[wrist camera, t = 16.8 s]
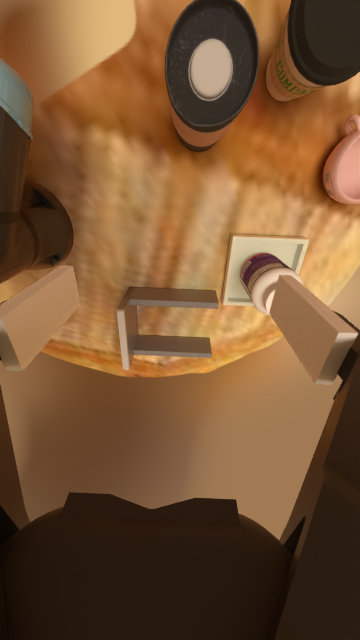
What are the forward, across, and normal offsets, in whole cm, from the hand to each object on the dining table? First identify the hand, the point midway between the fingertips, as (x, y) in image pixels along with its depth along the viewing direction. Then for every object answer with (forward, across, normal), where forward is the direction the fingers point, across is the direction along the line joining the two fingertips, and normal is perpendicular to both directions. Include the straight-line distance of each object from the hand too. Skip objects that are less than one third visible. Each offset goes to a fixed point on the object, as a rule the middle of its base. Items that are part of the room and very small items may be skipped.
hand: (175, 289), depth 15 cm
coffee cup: (+32, +14, +20) cm, 40 cm away
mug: (+32, +26, +10) cm, 42 cm away
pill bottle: (+31, +16, -8) cm, 36 cm away
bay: (+32, -2, -20) cm, 38 cm away
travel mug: (+32, +2, +14) cm, 35 cm away
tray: (+32, +16, -8) cm, 37 cm away
